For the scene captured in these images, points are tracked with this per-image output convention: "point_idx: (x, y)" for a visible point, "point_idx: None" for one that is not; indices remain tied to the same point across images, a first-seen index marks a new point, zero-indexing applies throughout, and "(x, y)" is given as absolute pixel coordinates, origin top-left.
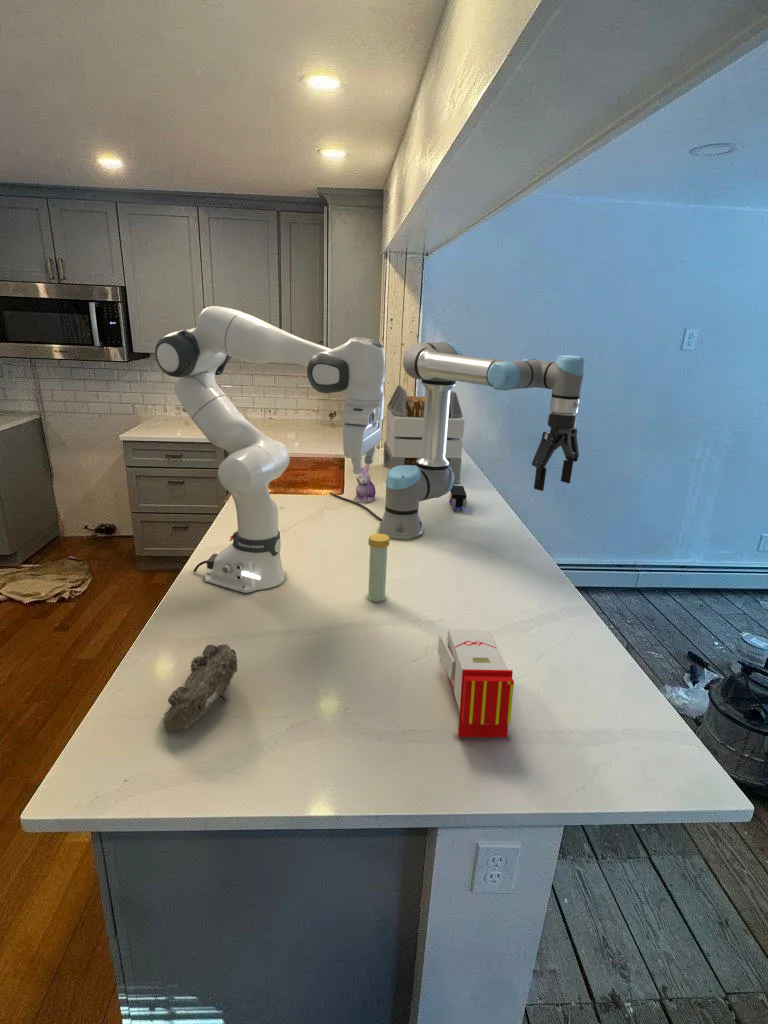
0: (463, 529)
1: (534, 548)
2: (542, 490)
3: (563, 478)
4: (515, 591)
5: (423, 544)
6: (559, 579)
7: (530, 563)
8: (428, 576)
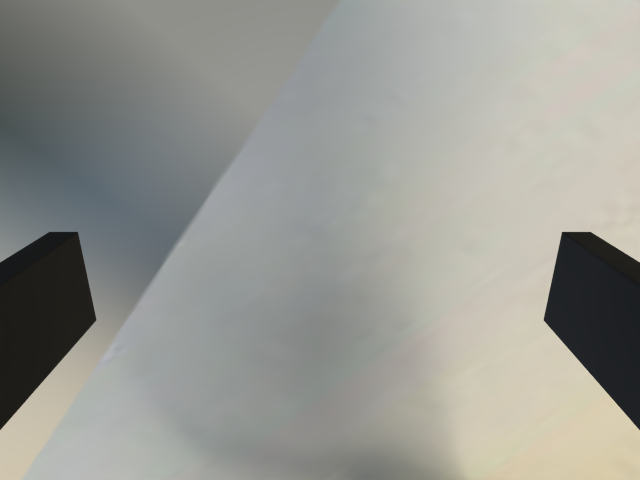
0: (253, 464)
1: (165, 262)
2: (582, 232)
3: (71, 315)
4: (516, 91)
5: (442, 454)
6: (307, 50)
7: (282, 196)
8: None
